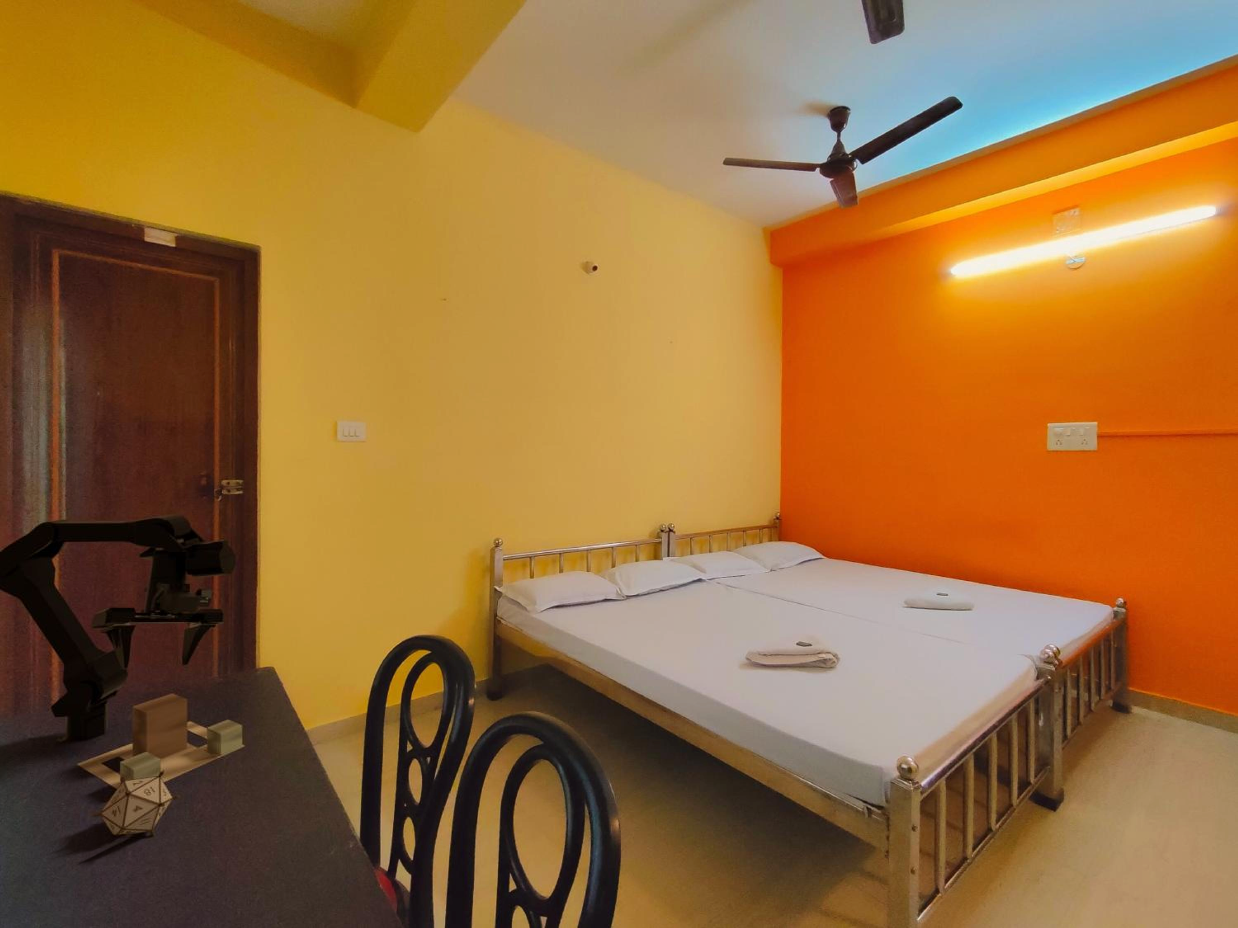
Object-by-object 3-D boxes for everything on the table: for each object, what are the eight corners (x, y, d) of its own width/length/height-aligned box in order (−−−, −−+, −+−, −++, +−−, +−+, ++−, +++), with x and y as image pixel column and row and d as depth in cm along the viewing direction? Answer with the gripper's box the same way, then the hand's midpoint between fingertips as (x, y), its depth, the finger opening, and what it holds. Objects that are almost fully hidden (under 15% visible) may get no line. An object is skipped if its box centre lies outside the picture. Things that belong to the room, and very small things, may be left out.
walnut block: (132, 756, 97) (132, 706, 97) (172, 741, 103) (172, 693, 102) (146, 764, 95) (146, 713, 95) (187, 748, 100) (187, 699, 100)
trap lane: (77, 770, 95) (76, 740, 95) (190, 727, 110) (190, 701, 110) (130, 804, 86) (130, 771, 86) (245, 751, 102) (245, 724, 101)
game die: (138, 865, 79) (114, 839, 73) (94, 835, 81) (67, 807, 75) (198, 803, 86) (181, 775, 80) (156, 776, 88) (137, 747, 82)
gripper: (129, 568, 94) (113, 664, 89) (244, 575, 110) (236, 658, 105) (98, 580, 99) (81, 673, 94) (212, 585, 115) (203, 665, 109)
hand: (155, 666), depth 100 cm, fingers open, 9 cm apart
